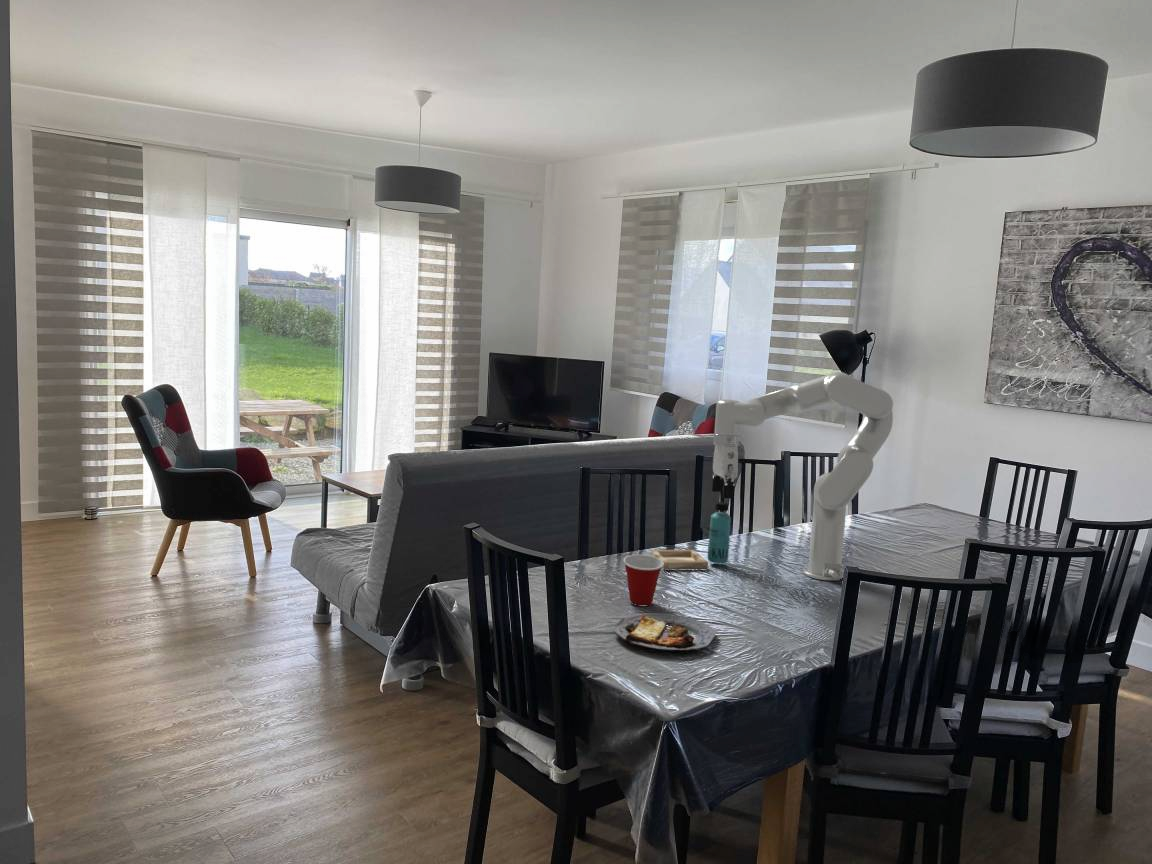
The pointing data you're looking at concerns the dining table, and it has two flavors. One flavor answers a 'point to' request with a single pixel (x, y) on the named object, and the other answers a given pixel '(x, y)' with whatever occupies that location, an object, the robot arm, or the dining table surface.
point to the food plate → (652, 635)
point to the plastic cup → (642, 577)
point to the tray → (680, 559)
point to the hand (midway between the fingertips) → (722, 494)
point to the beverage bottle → (719, 534)
